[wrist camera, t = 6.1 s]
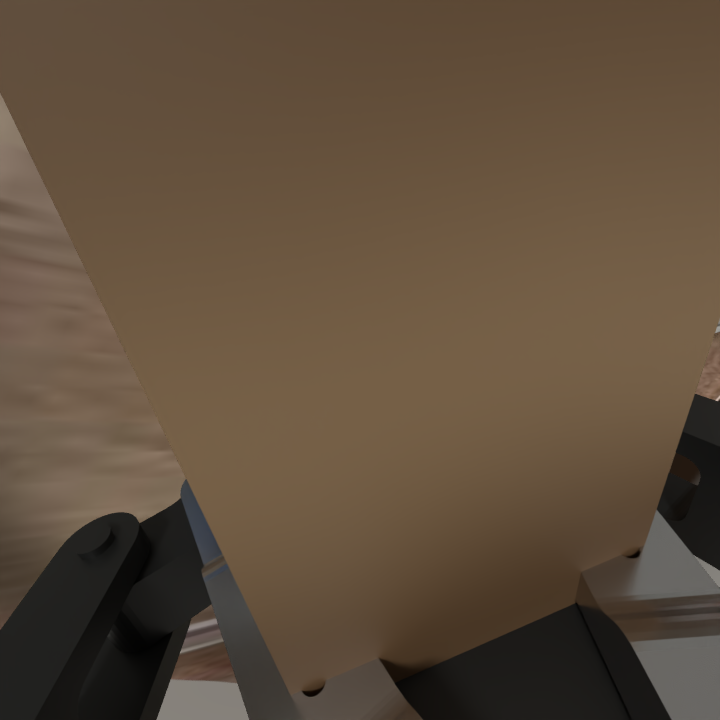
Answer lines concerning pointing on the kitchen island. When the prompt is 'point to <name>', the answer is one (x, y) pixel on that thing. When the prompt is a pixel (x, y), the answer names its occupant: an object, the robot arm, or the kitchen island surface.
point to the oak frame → (394, 285)
